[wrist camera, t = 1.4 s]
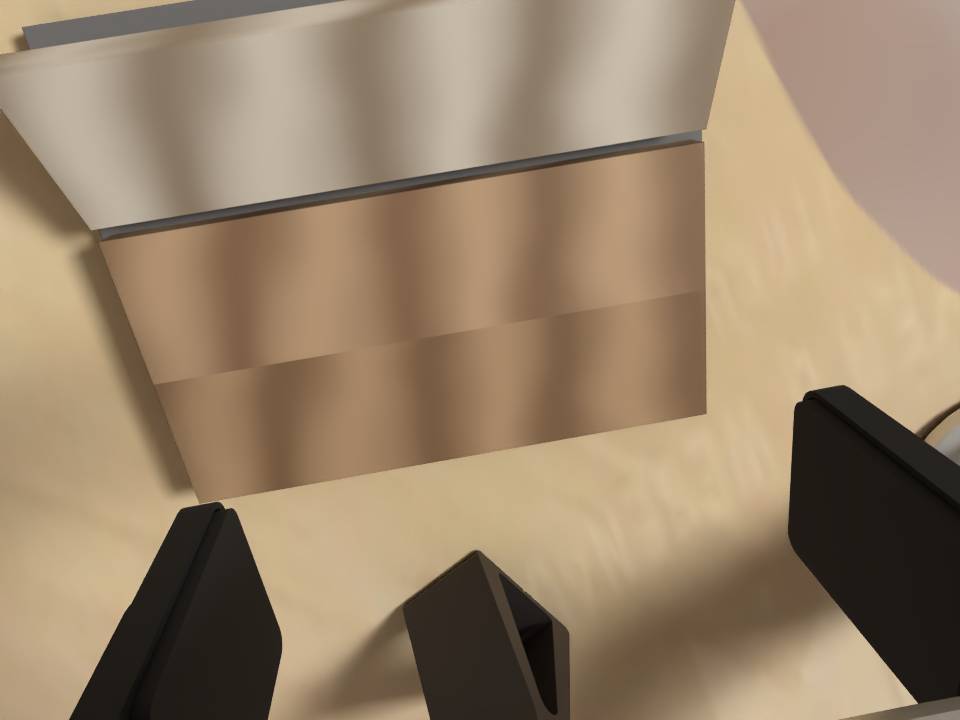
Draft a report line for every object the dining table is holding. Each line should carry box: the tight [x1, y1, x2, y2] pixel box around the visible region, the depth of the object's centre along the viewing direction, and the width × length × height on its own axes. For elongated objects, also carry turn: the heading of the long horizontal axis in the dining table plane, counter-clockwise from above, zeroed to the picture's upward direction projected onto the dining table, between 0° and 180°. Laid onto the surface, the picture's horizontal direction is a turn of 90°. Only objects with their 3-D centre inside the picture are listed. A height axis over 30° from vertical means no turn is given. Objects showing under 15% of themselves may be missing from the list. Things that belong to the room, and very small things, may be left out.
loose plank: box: [0, 0, 735, 230], centre depth 25 cm, size 26×7×2 cm, turn 98°
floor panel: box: [22, 0, 706, 504], centre depth 30 cm, size 27×22×2 cm
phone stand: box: [403, 551, 570, 720], centre depth 36 cm, size 9×6×12 cm, turn 40°
